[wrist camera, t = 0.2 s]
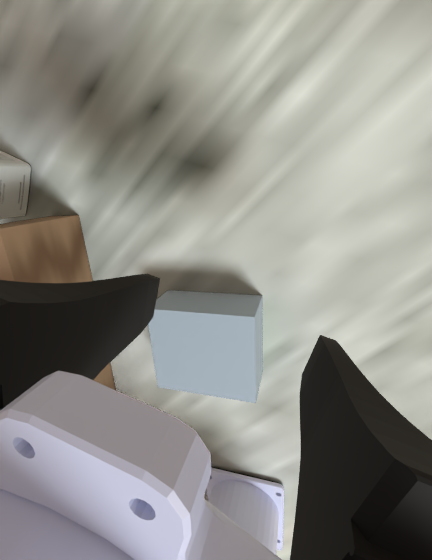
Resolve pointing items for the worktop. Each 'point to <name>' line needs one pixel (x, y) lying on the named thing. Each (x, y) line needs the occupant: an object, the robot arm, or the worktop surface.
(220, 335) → the slate block
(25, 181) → the ink box
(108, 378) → the walnut board
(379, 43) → the worktop surface
